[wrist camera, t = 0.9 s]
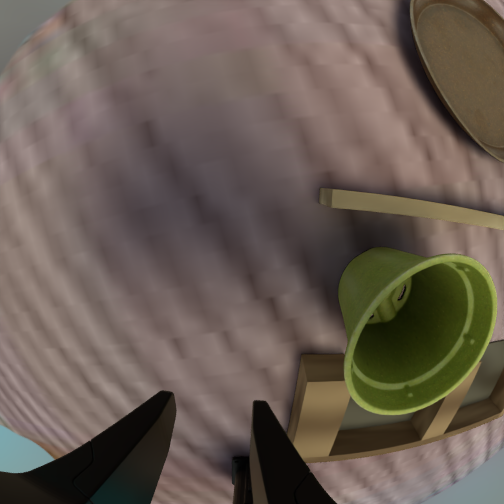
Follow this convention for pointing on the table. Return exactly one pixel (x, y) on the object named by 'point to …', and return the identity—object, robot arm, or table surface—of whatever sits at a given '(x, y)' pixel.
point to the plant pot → (413, 326)
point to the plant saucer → (464, 64)
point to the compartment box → (377, 425)
